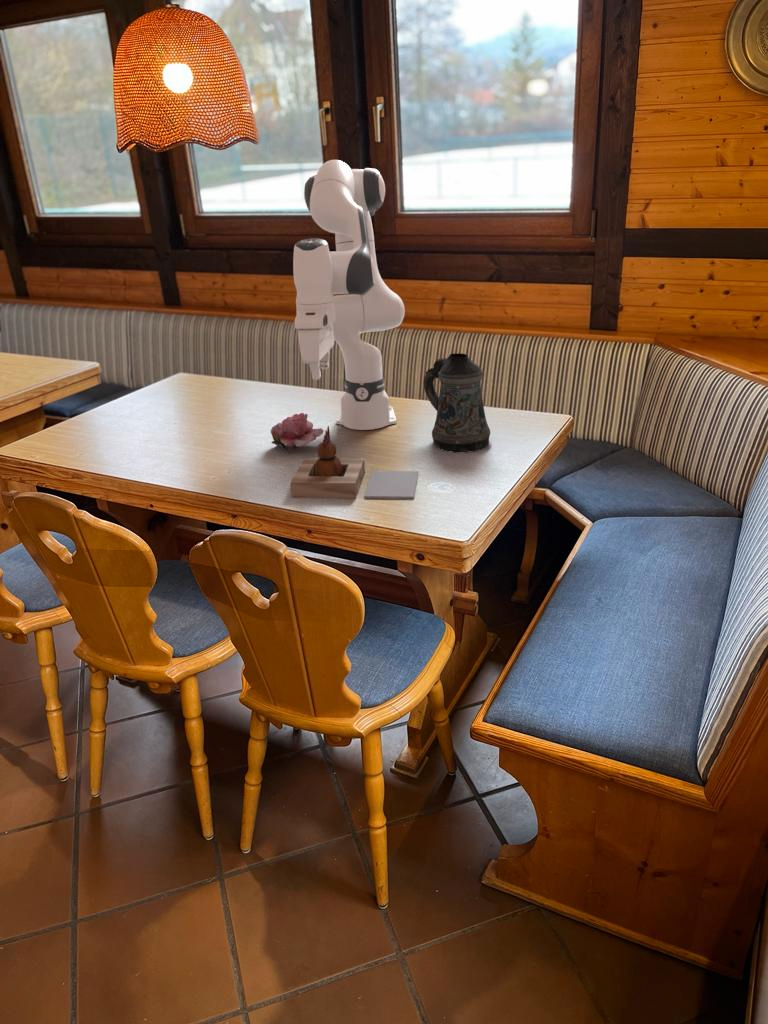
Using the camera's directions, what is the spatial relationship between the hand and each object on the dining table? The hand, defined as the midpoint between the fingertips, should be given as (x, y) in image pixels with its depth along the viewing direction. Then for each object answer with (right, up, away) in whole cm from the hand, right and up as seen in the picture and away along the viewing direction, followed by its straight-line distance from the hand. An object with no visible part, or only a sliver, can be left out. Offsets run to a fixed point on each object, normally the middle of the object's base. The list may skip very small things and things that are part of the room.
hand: (321, 373), depth 179 cm
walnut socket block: (+1, -26, +12) cm, 29 cm away
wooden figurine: (+1, -26, +12) cm, 29 cm away
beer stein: (+35, -13, +36) cm, 52 cm away
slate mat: (+17, -26, +10) cm, 33 cm away
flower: (-10, -15, +37) cm, 41 cm away
